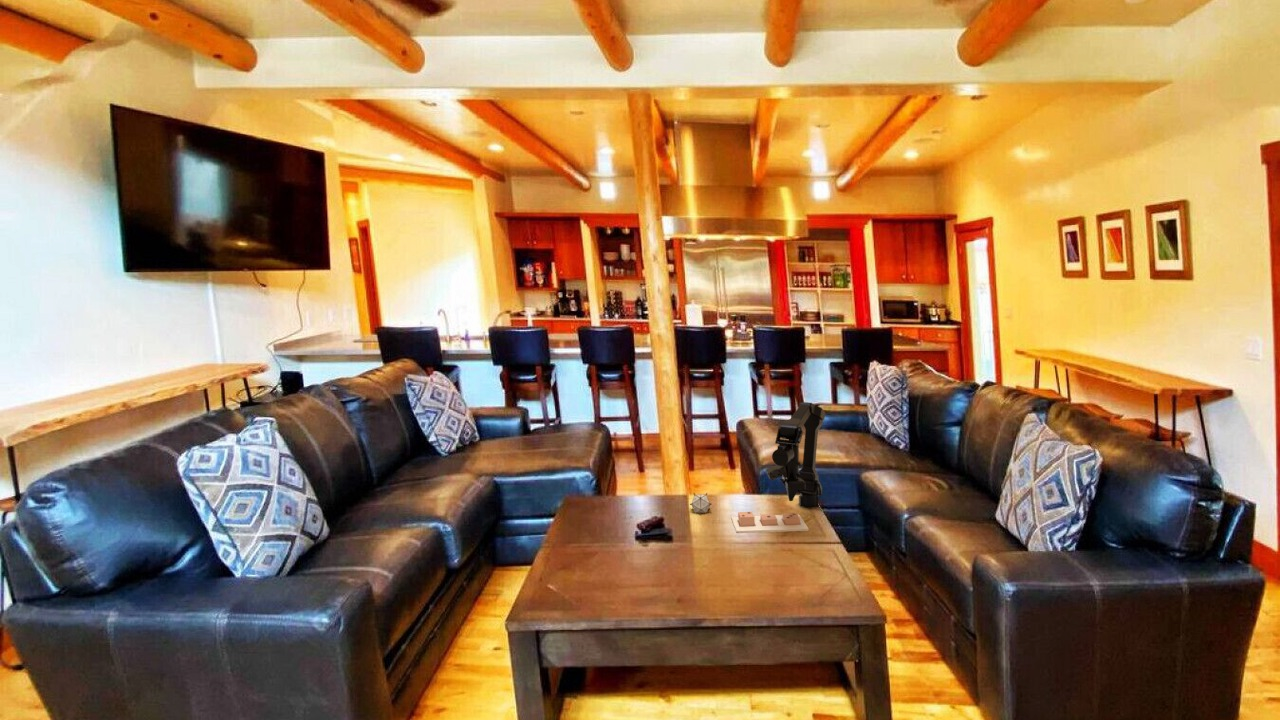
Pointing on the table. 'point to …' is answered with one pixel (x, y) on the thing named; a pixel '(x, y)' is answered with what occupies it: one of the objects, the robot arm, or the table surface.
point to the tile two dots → (746, 519)
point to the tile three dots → (791, 519)
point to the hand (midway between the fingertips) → (790, 500)
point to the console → (760, 528)
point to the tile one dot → (768, 519)
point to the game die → (700, 503)
